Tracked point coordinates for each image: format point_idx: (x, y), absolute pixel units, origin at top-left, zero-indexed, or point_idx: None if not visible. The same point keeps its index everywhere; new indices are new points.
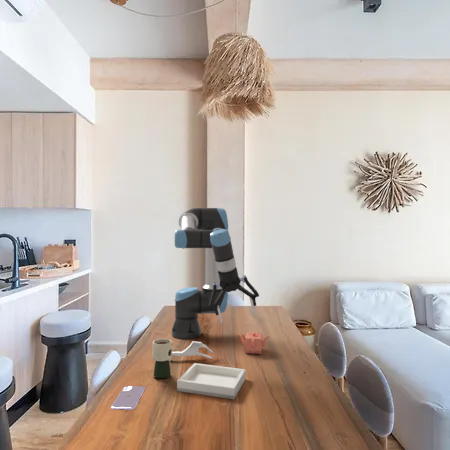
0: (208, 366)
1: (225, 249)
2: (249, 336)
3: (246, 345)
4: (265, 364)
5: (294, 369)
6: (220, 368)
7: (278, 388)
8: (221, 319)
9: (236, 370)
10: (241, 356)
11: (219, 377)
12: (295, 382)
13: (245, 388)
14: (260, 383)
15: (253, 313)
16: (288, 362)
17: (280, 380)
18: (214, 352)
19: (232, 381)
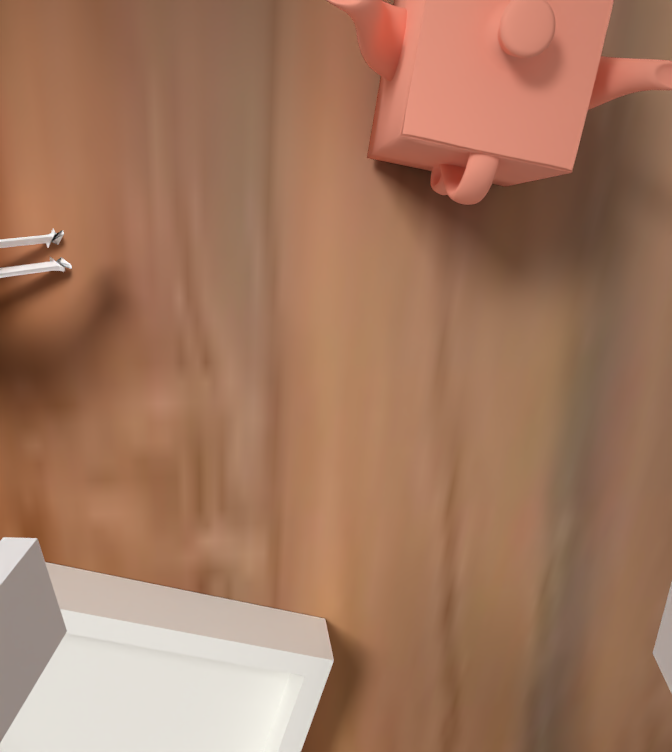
0: None
1: None
2: (459, 67)
3: (396, 150)
4: (493, 383)
5: (659, 462)
6: (150, 643)
7: (494, 711)
8: (24, 692)
9: (269, 665)
10: (329, 212)
11: (152, 661)
12: (604, 636)
13: (314, 729)
14: (408, 665)
15: (667, 684)
16: (661, 343)
17: (530, 619)
18: (70, 267)
19: (239, 705)
